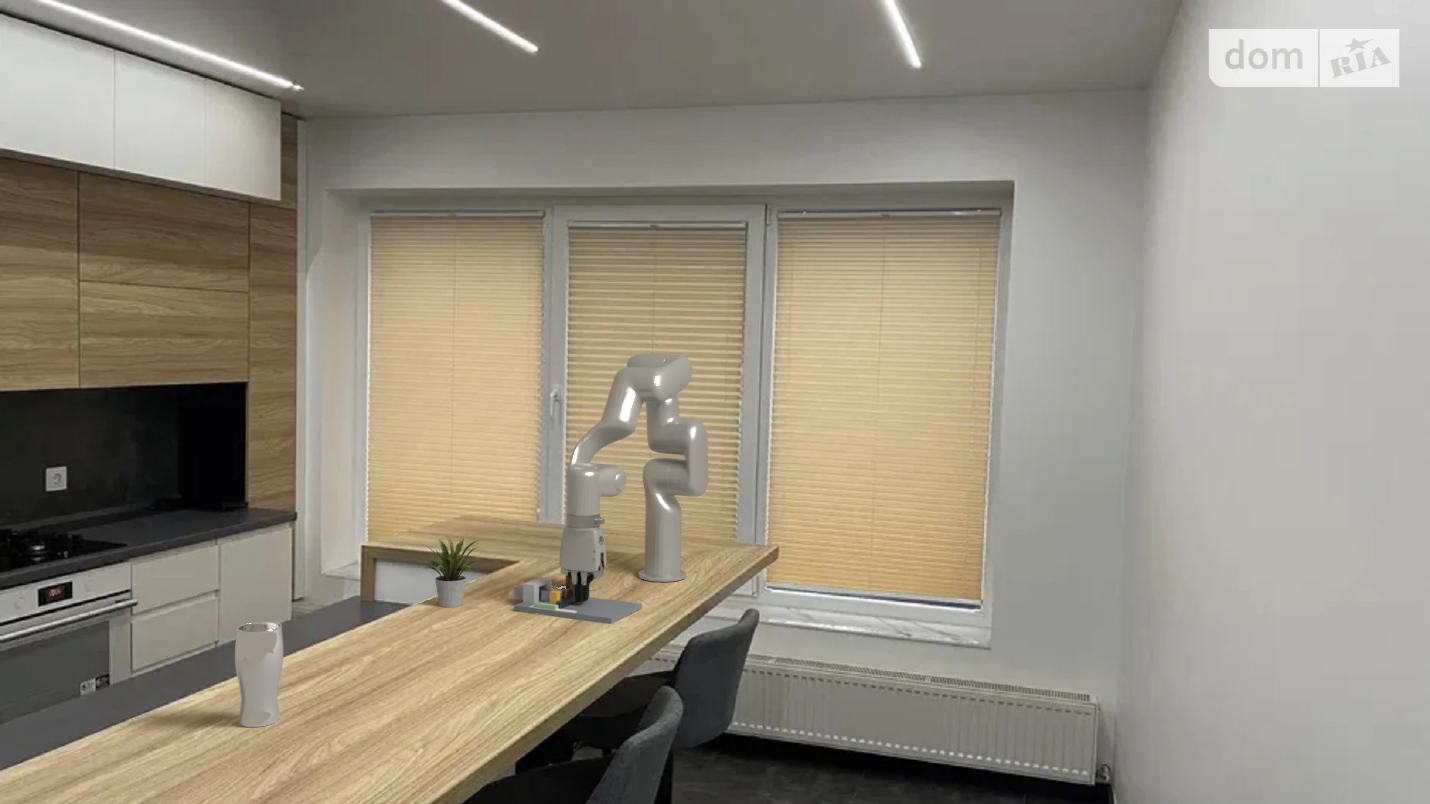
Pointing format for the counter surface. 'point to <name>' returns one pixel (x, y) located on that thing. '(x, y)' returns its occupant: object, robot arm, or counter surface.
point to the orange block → (554, 596)
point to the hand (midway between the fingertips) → (581, 601)
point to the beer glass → (259, 672)
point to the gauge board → (574, 605)
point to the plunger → (544, 595)
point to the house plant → (451, 574)
